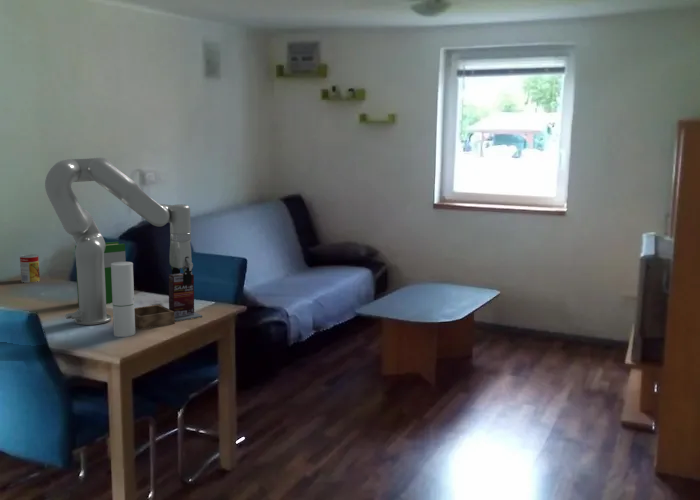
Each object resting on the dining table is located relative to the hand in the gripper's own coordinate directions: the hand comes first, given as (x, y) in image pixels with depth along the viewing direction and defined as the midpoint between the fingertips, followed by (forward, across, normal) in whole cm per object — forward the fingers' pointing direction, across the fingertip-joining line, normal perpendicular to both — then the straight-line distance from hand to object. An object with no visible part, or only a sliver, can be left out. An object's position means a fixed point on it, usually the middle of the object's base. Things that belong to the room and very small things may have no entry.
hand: (181, 281), depth 261 cm
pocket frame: (+14, +1, -14) cm, 19 cm away
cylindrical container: (+14, +10, -26) cm, 31 cm away
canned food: (+14, -99, -30) cm, 104 cm away
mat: (+14, 0, 0) cm, 14 cm away
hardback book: (+14, -40, -16) cm, 45 cm away
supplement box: (+13, 0, 0) cm, 13 cm away
